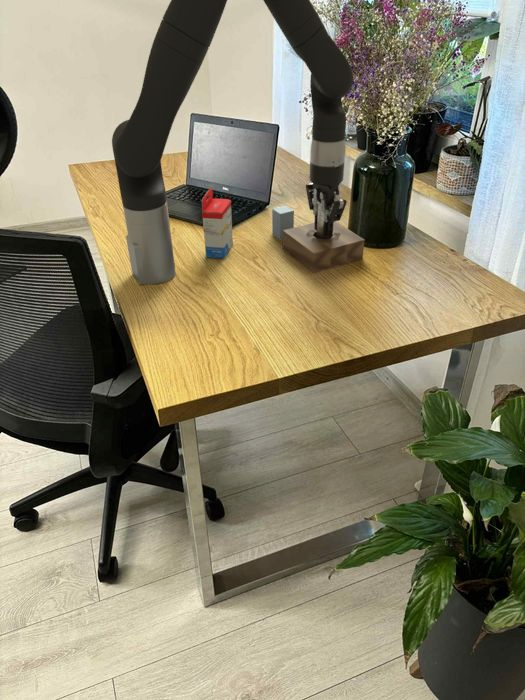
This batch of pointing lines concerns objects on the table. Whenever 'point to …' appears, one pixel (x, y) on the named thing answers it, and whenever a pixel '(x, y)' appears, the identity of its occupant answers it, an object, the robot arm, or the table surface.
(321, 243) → the socket block
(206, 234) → the ink box
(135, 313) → the table surface
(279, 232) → the square bar
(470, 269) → the table surface
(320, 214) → the round bit
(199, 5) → the robot arm
